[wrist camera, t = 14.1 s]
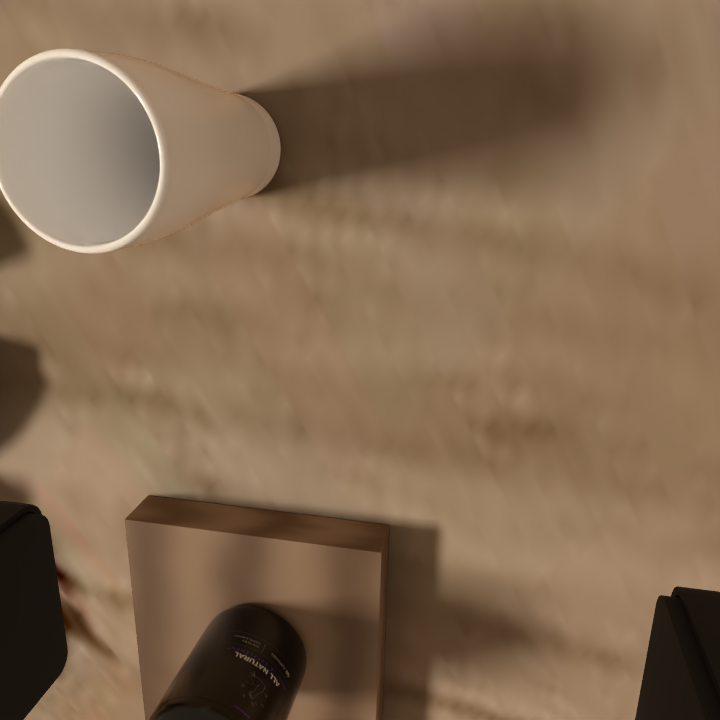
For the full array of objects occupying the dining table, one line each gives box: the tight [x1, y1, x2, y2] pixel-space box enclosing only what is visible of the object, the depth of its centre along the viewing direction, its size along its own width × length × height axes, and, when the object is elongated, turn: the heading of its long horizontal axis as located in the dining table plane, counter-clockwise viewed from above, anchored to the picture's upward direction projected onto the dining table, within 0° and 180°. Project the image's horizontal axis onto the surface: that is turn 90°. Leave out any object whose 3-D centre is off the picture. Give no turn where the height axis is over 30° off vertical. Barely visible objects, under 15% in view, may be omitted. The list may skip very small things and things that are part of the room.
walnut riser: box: [125, 496, 389, 720], centre depth 45 cm, size 16×16×3 cm
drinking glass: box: [0, 48, 281, 253], centre depth 30 cm, size 7×7×15 cm
